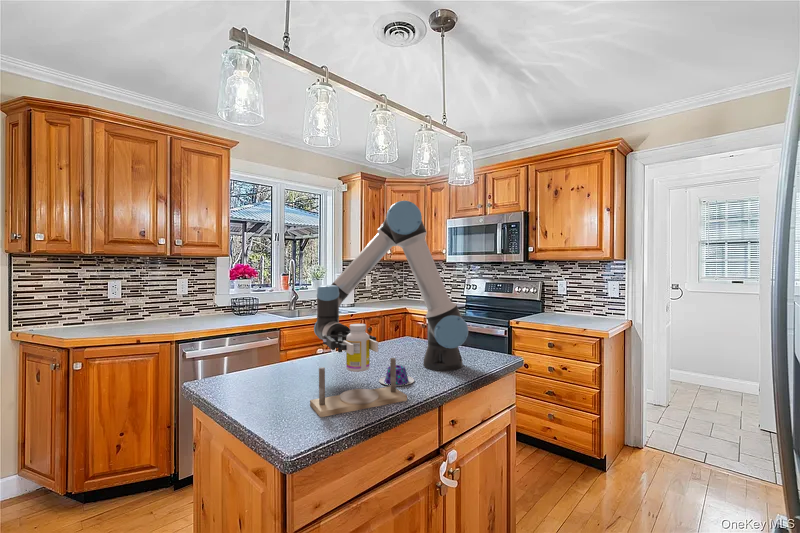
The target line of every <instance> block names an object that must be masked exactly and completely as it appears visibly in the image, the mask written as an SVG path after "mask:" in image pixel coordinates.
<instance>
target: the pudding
mask: <svg viewBox="0 0 800 533" xmlns="http://www.w3.org/2000/svg"><path fill="white" fill-rule="evenodd" d="M384 380H385V383H387V384H385V383H384ZM408 380H409V381H408ZM378 382H379V383H380V384H383V385H385V386H391V385H390V384H391V370H390V366H388V367H387V370H386V375H385V376H382V377H381V378H379V380H378ZM414 382H415V379H414V378H413V377H411V376H410V375H408V373H407V369H406V366H403V365H401V364H400V365H398V364H396V387H400V386H403V385H404V384H405V385H404V386H407V385H410V384H412V383H414ZM406 383H407V384H406ZM388 384H389V385H388ZM402 384H403V385H402Z"/></svg>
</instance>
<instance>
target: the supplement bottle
mask: <svg viewBox="0 0 800 533" xmlns="http://www.w3.org/2000/svg"><path fill="white" fill-rule="evenodd" d="M349 329H350V330H351V331H350V333H349V334H348V335H347V337H346V341H347V342H349V343H351V344H353V345H354V355H350V354H349V353H347V352H345V353H346V354H345V355H346V357H345V358H346V361H345V362H346V365H345V366H346V370H347V371H349V372H354V373H355V372H356V373H359V372H365V371H369V369H370V364H371V363H370V357H371V356H370V349H369V335H370V334H368V333H367V332H366V330H367V324H365V323H353V324H352V323H351V324H349Z"/></svg>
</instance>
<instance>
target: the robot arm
mask: <svg viewBox="0 0 800 533" xmlns="http://www.w3.org/2000/svg"><path fill="white" fill-rule="evenodd" d="M422 217H423V216H422V212H421V210H420V208H419V206H417V205H416V204H415V203H414V202H412V201H409V200H399V201H397V202H395V203H392V205H390V207H389V208H388V209H387V213H386V217H385V219H384V221H383V222H382V224H380V226H379V227H378V228H377V233H376V235H375V236H373V238H372V239H371V240H370V241H369V242H368V243H367V245H365V247H364V248H363V249H362V250H360V252H359V253H358V255H356V257H355V258H354V259H353V260H352V261H351V262H350V263H349V265H347V267H346V268H345V269H344V270H343V271H342V273H340V275H338V277H337V278H336V279H335V280H334V281H333V282H332V284H330V285H329V284H326V285H325V284H324V285H323V284H322V285H318V287H317V288H316V289H317V291H316V292H317V293H316V308H317V309H316V314H317V315H316V322H315V323H314V326H313V331H314V334H315V336H317V338H318V339H319V340H321V341H322V344H323V345H325V346H327V347H328V348H329V349H330V350H331V351H336V349H337V353H343V351H344V352H345V353H346V352H347V353H349V354H350V355H354V345H353V344H351V343H349V342H347V341H346V337H347V335H348V334H349V333H350V331H351V330H350V327H349V326H347V325H345V324H343V323H341V322H340V318H339V317H340V305H341V304H342V303H343V302H344V301H345V300H346V298H348V296H349V295H350V294H351V293H352V291H354V290H355V288H356V287H357V286H358V285H359V284H360V283H361V282H362V280H364V279H365V277H366V276H367V275H368V274H369V273H370V272H371V271H372V270H373V269H374V268H375V267H376V265H377V264H378V263H379V262H380V261H381V260H382V258H383V257H384V256H385V255H386V254H387V253H388V252H389V251H390V250H391V249H392V247H400V248H402V251H403V253H404V256H405V258H406V261H407V263H408V265H409V268H410V270H411V272H412V275H413V278H414V280H415V283H416V284H417V287H418V290H419V292H420V294H421V297H422V299H423V302H424V304H425V306H426V309H427V312H426V314H425V318H426V320H427V348H426V351H425V354H424V357H423V364H422V365H423V367H424V368H426V369H429V370H432V371H445V372H446V371H447V372H449V371H455V370H456V371H457V370H460V369H462V368H463V359H462V356H461V355H462V354H461V352H460V348H459V347H461V346H462V345H463V344H464V343H465V342H466V341H467V338H468V336H469V327H468V324H467V322H466V320H465V319H464V318H463V317H462V315H461V312H460V310H459V307H458V305H457V303H455V302H453V301H451V299H450V297H449V294H448V292H447V289H446V287H445V285H444V282H443V280H442V278H441V275H440V272H439V270H438V267H437V265H436V263H435V261H434V258H433V256H432V253H431V250H430V248H429V246H428V244H427V241H426V239H425V238H426V236H427V233H428V232H427V230H426V227H425V224H424V222H423V218H422ZM368 335H369V351H370V350H371V351H372V352H375V353H378V352H379V342H378V341H377V337H376V336H374V335H370V334H368Z"/></svg>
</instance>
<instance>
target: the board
mask: <svg viewBox="0 0 800 533" xmlns="http://www.w3.org/2000/svg"><path fill="white" fill-rule="evenodd" d="M389 359H390V360H389V361H390V366H389V367H390V370H391V386H390V385H388V386H384V387H378V388H372V389H369V388H368V389H367V388H354V389H349V390H345V391H343V392H342V393H340V394H337V395H331V396H326V368H325V367H323V366H322V367H318V398H315V399H310V400H309V406H310V407H311V408H312V410H314V412H315V413H316V414H317V415H318V416H319V417H320V418H324V417H325V418H326V417H329V416H334V415H339V414H344V413H345V414H346V413H350V412H354V411H361V410H365V409H369V408H375V407H380V406H386V405H391V404H396V403H397V404H398V403H400V402H406V401H408V395H407V394H406V393H404V392H402V391H401V390H399V389H397V386H396V365H397V364H396V363H397V361H396V357H391V358H389Z"/></svg>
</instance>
